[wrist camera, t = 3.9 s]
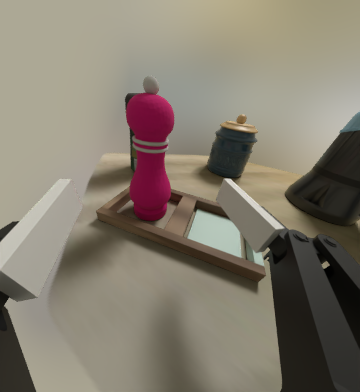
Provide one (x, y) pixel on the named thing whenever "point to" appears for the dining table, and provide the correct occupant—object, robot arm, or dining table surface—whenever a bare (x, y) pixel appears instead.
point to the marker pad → (216, 232)
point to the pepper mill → (150, 150)
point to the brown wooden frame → (177, 229)
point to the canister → (232, 148)
